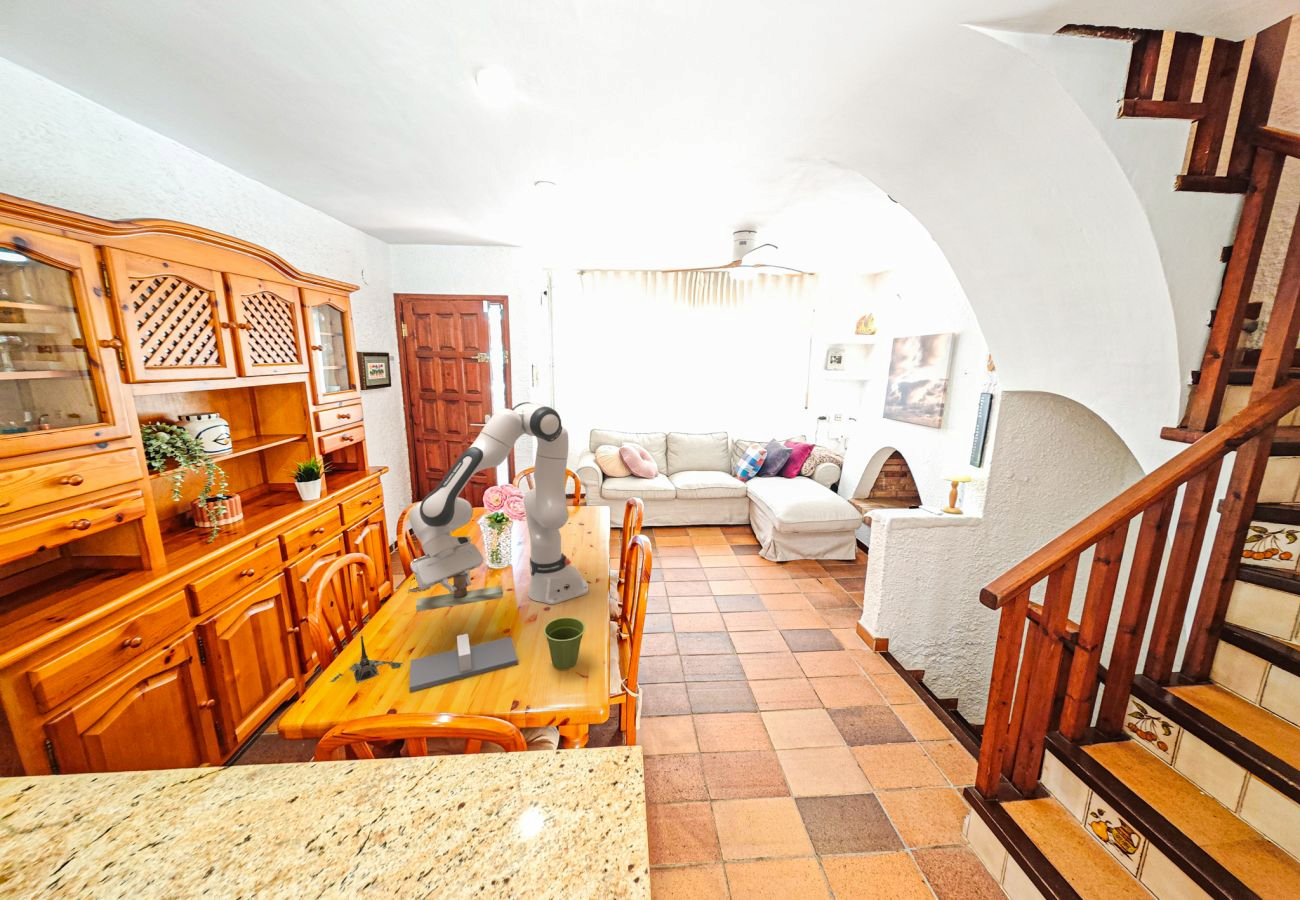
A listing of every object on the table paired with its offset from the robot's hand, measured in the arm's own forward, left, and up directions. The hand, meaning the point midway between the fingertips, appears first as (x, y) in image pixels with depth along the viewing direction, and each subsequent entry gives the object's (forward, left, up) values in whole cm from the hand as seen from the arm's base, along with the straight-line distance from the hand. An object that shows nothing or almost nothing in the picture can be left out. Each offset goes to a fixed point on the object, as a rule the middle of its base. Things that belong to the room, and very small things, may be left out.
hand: (461, 588), depth 139 cm
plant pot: (-26, +21, -19) cm, 38 cm away
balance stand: (+1, +10, -18) cm, 21 cm away
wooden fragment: (+10, -51, -19) cm, 55 cm away
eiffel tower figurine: (+26, +3, -19) cm, 32 cm away
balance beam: (0, -1, -4) cm, 4 cm away
